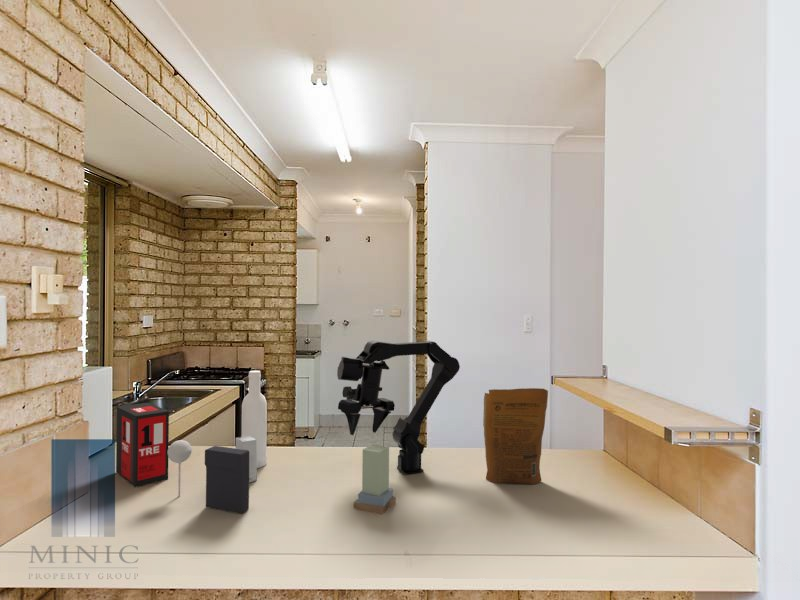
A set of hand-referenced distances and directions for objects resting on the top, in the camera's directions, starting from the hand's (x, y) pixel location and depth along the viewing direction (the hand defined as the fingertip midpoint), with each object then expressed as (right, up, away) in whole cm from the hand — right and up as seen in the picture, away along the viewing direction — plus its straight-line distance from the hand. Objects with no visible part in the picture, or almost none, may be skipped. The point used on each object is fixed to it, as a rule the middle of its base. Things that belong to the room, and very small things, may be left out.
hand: (363, 433), depth 149 cm
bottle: (-36, -13, +9) cm, 39 cm away
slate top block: (+5, -11, -21) cm, 25 cm away
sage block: (+5, -9, -21) cm, 24 cm away
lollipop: (-48, -12, -17) cm, 52 cm away
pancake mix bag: (+45, -14, -4) cm, 47 cm away
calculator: (-33, -13, -24) cm, 43 cm away
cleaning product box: (-66, -12, -2) cm, 67 cm away
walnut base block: (+5, -14, -21) cm, 26 cm away
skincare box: (-34, -13, -4) cm, 37 cm away
